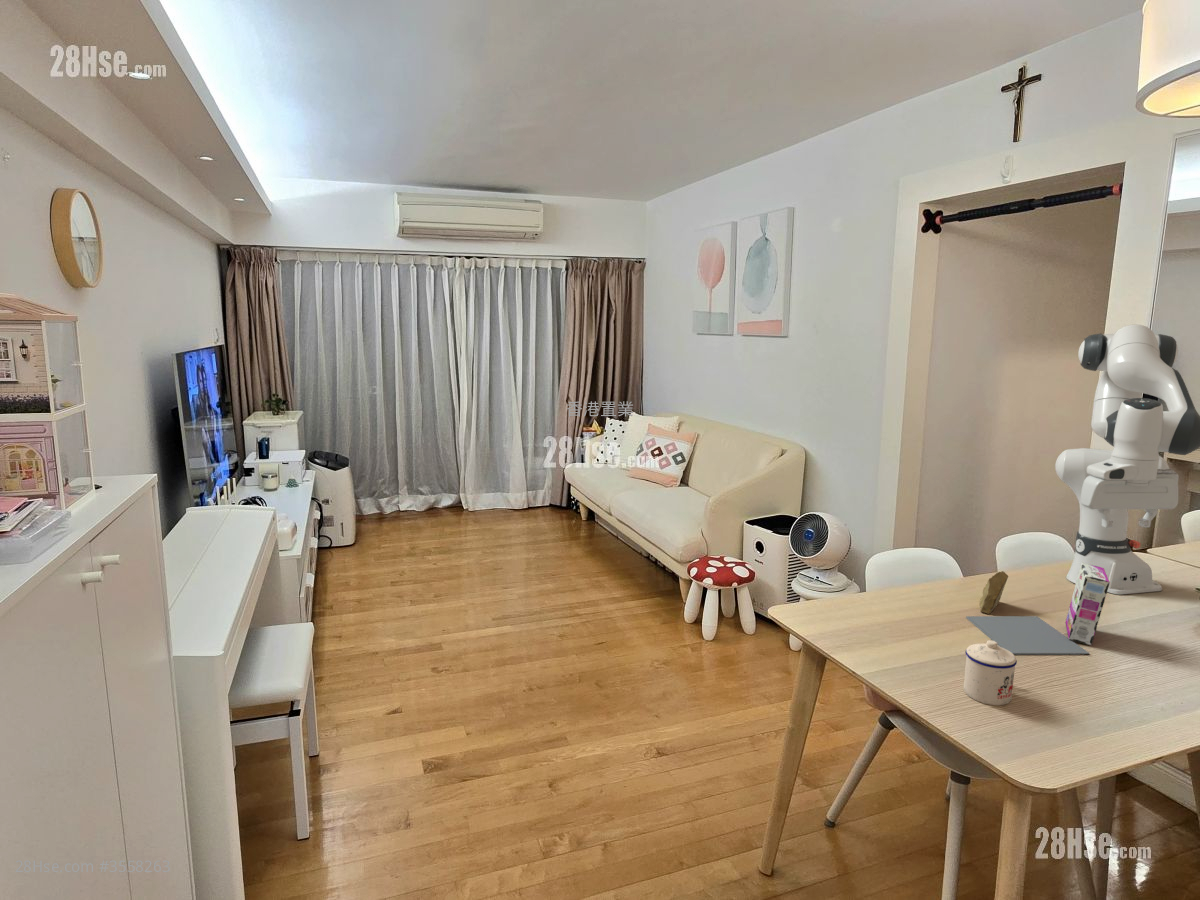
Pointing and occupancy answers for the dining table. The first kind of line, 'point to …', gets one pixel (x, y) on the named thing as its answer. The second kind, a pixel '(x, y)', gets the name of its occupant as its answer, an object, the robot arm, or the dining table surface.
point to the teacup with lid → (989, 673)
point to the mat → (1026, 635)
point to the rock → (993, 592)
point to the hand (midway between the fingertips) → (1125, 526)
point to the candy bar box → (1086, 603)
